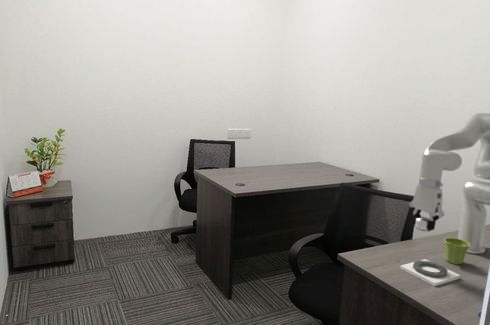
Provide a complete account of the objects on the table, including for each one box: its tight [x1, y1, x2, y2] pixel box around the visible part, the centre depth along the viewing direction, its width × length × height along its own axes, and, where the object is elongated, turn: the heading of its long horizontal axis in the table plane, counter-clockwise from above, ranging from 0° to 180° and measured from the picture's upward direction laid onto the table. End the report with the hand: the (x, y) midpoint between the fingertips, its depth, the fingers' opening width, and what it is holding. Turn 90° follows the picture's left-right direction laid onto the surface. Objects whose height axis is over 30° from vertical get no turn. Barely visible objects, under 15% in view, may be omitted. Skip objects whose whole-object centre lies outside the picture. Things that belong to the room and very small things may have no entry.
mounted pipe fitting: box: [399, 259, 462, 287], centre depth 141 cm, size 15×15×2 cm
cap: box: [414, 216, 432, 232], centre depth 146 cm, size 6×6×4 cm
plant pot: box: [443, 237, 470, 265], centre depth 152 cm, size 9×9×9 cm
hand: (423, 226), depth 146 cm, fingers closed on cap, 6 cm apart
